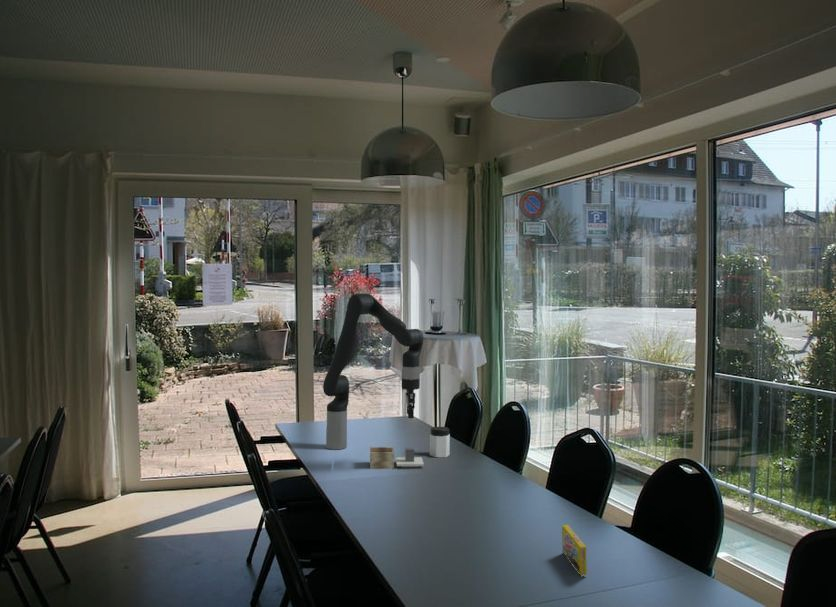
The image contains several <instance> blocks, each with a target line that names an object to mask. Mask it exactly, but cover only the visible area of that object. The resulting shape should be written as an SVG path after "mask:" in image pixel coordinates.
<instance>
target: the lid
mask: <svg viewBox="0 0 836 607" xmlns="http://www.w3.org/2000/svg"><path fill="white" fill-rule="evenodd" d="M404 449H405V450H404V451H405V452H404V453H405V454H404V456H403V457H398V456H397V457H395V462H396V467H397V466H401V467H419V466H423V467H424V466H425V464H424V460H423V458H422V456H418V457H416V456H415V448H414V447H404Z"/></svg>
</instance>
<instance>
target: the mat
mask: <svg viewBox="0 0 836 607" xmlns="http://www.w3.org/2000/svg"><path fill="white" fill-rule="evenodd" d="M396 467H397V470H424V466H419V467H401V466H397V465H396Z"/></svg>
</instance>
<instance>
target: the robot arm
mask: <svg viewBox="0 0 836 607" xmlns="http://www.w3.org/2000/svg"><path fill="white" fill-rule="evenodd" d="M363 315H371V316H373V317H375V318H376V319H377V320H378V322H379V324H380V326H381V327H382V328H383V329H384V330H385V331H386V332H388V333H389V334H391V335H392V336H393V337H394V338H395V339H396V340H397V342H398V343H399V344H400V345H401V346H404V347H408V350H407V351H406V352H403V354H402V359H401V360H402V364H401V365H402V368H401V389H403V390H406V392H404V394H405V395H404V396H405V404H406V414H407V418H408V419H414V410H415V406H416V405H415V404H416V392H415V390H419V389H420V384H421V382H420V381H421V374H420V373H421V371H420V357H421V356H420V355H421V352H422V349H423V345H424V335H423V332H422V330H421V329H418V328H410V329H408V328H407V326H406V325H407V324H406V323H405V322H404V321H403V320H401V319H400V318H398V317H397V316H395V315H393V313H391V312H390V311H389V310H387V309H386V307H384V306H383V305H382V304H381V303H380V302H379V301H378V300H377V299H376V298H375V297H374V296H373V294H370V293H355V294H352V295H351V296H350V297H349V300H348V302H347V306H346V312H345V316H344V320H343V325H342V328H341V332H340V334H339V338H338V340H337V344H336V346H335V350H334V351H335V352H334V354H333V357H332V359H331V360H332V361H331V363H330V366H329V368H328V370H327V373H326V374H325V378H324V380H323V384H322V388H323V389H322V390H323V393H324V395H325V396H327V397H334V398H333V400H332V401H330V402H328V403H327V405H326V430H325V432H326V435H325V440H326V446H325V447H326V449H327V450H344V449H347V446H348V438H347V437H348V406H349V398H350V381H349V379H348V377H347V375H344V374H342V372H343V371H344V369H346V367H347V366H348V365H349V363H351V362H352V360H353V359H354V358H355V356H356V355H357V352H358V348H359V344H360V337H359V333H358V328H357V327H358V322H359V319H360V316H363ZM343 448H344V449H343Z"/></svg>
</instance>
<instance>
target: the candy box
mask: <svg viewBox="0 0 836 607" xmlns="http://www.w3.org/2000/svg"><path fill="white" fill-rule="evenodd" d="M561 534H562V536H561V538H562V539H561V540H562V545H561V546H562V553H563V552H564V553H565V554H566V556H567V557H568V558H569V560H570V561H571V563H572V564H573V565H574V567H575V568H576V569H577V571H578V572H579V573H580V575H583V574H584V575H586V574H587V567H588V566H587V546H586V545H585V544H584V542H583V541H582V540H581V539H580V538H579V536H578V535H577V534H576V532H574V531H573V529H572V528H571V527H570V525H569V524H563V525H561Z"/></svg>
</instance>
